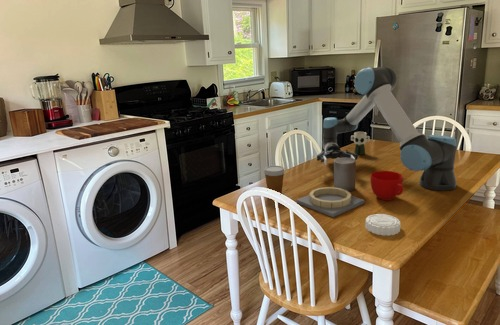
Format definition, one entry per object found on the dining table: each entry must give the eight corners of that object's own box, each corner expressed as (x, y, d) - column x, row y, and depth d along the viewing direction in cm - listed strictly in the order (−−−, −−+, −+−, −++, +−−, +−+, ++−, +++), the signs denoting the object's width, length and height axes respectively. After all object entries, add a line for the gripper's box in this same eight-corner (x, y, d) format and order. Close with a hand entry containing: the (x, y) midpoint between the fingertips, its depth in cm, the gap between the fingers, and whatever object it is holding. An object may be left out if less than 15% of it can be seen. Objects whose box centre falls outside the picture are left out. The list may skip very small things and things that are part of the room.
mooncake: (392, 220, 144) (392, 211, 143) (405, 235, 132) (406, 225, 131) (360, 222, 143) (361, 213, 142) (371, 237, 132) (372, 227, 131)
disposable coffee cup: (284, 197, 170) (283, 171, 167) (262, 196, 172) (261, 171, 168) (286, 189, 179) (285, 165, 175) (266, 189, 181) (265, 165, 177)
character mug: (349, 154, 231) (350, 133, 227) (351, 151, 237) (352, 131, 233) (368, 156, 226) (369, 134, 223) (369, 152, 233) (370, 132, 229)
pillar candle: (353, 184, 181) (353, 154, 177) (356, 192, 172) (357, 160, 168) (332, 185, 182) (332, 154, 178) (334, 192, 173) (335, 160, 169)
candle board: (364, 203, 160) (364, 194, 158) (332, 217, 148) (332, 207, 147) (327, 191, 175) (327, 182, 174) (296, 202, 163) (296, 194, 162)
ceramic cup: (387, 208, 153) (388, 185, 151) (363, 194, 169) (364, 173, 166) (414, 203, 157) (416, 180, 154) (388, 190, 172) (390, 169, 170)
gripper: (355, 156, 205) (365, 168, 185) (309, 157, 206) (314, 170, 186) (356, 142, 203) (366, 153, 183) (309, 144, 204) (314, 155, 184)
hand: (340, 161), depth 184 cm, fingers open, 13 cm apart
